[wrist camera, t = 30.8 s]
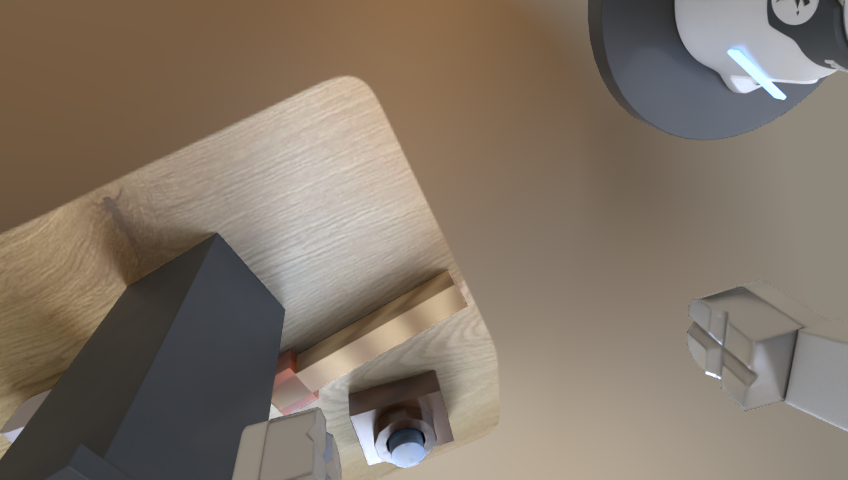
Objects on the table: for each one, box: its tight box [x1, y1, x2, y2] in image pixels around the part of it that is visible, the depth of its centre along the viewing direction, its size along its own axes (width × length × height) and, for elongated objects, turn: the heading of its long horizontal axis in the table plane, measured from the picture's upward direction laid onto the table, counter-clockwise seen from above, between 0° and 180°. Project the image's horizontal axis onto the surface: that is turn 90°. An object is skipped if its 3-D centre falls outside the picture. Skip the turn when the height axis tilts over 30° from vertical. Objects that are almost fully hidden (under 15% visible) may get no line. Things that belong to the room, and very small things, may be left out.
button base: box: [349, 371, 454, 466], centre depth 53 cm, size 10×8×5 cm
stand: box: [0, 233, 285, 480], centre depth 34 cm, size 11×13×26 cm
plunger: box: [389, 427, 425, 467], centre depth 51 cm, size 4×4×2 cm
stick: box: [271, 270, 468, 416], centre depth 49 cm, size 22×5×3 cm, turn 119°
